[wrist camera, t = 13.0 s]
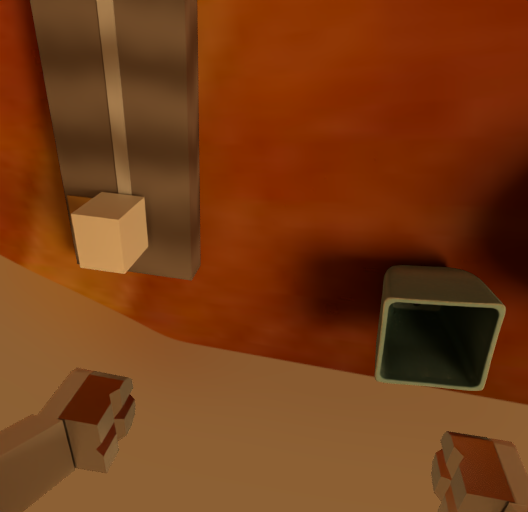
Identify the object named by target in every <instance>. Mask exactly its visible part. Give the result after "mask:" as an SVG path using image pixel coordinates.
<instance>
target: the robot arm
mask: <svg viewBox="0 0 528 512" xmlns="http://www.w3.org/2000/svg"><path fill="white" fill-rule="evenodd" d="M132 389H133V384H132V379H131V378H127V377H122V376H117V375H112V374H107V373H102V372H97V371H91V370H86V369H81V368H76V369H74V370H73V371H72V372H70V374H69V375H68V376H67V377H66V379H65V380H64V381H63V383H62V384H61V385H60V387H59V388H58V389H57V390H56V392H55V393H54V394H53V395H52V397H51V398H50V399H49V401H48V402H47V403H46V405H45V406H44V407H43V408H42V410H41V411H40V412H39V414H38V415H33V414H32V415H30V416H28V417H26V418H24V419H22V420H21V421H19V422H17V423H15V424H13V425H11V426H10V427H8V428H6V429H4V430H2V431H0V512H23V511H24V510H25V509H27V508H28V507H29V506H30V505H32V504H33V503H34V502H36V501H37V500H38V499H39V498H40V497H42V496H43V495H44V494H46V493H47V492H48V491H49V490H51V489H52V488H53V487H54V486H56V485H57V484H58V483H59V482H61V481H62V480H63V479H64V478H66V477H67V476H68V475H69V474H71V473H72V472H73V471H74V470H75V468H78V469H84V470H90V471H96V472H102V473H107V472H108V470H109V468H110V466H111V464H112V462H113V460H114V458H115V457H116V455H117V453H118V451H119V448H118V441H119V440H120V439H122V438H123V437H125V436H126V435H127V433H128V431H129V429H130V427H131V425H132V422H133V418H134V415H135V399H134V398H133V397H132V396H131V395H130V393H131V391H132ZM441 445H442V449H441V450H440V451H438V452H436V453H435V456H434V459H433V462H432V472H431V474H432V484H433V490H434V493H435V494H436V495H437V497H438V498H439V499H440V500H441V505H440V506H439V509H438V512H528V475H527V473H526V470H525V468H524V466H523V463H522V461H521V458H520V456H519V454H518V451H517V449H516V446H515V445H514V444H513V443H512V442H509V441H503V440H497V439H490V438H487V437H480V436H474V435H467V434H460V433H455V432H448V431H447V432H445V433H444V434H443V436H442V439H441Z"/></svg>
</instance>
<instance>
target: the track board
mask: <svg viewBox="0 0 528 512" xmlns="http://www.w3.org/2000/svg"><path fill="white" fill-rule="evenodd" d="M30 3H31V9H32V14H33V20H34V25H35V31H36V37H37V42H38V48H39V53H40V59H41V64H42V70H43V75H44V81H45V87H46V92H47V98H48V103H49V109H50V114H51V120H52V125H53V131H54V137H55V142H56V148H57V153H58V159H59V164H60V170H61V175H62V181H63V187H64V192H65V198H66V203H67V209H68V214H69V220H70V225H71V231H72V237H73V242H74V248H75V253H76V259H77V264H80V263H79V257H78V251H77V246H76V240H75V234H74V229H73V223H72V217H71V213H72V212H74V211H75V210H77V209H78V208H80V207H81V206H82V205H84V204H85V203H87V202H88V201H89V200H91V199H92V198H94V197H95V196H96V195H98V194H99V193H101V192H107V193H116V194H124V195H132V196H140V197H144V200H145V212H146V224H147V236H148V248H147V249H146V250H145V251H144V252H143V253H142V255H141V256H140V257H139V258H138V259H137V260H136V262H135V263H134V264H133V265H132V266H131V267H130V269H129V270H128V271H130V272H137V273H144V274H151V275H158V276H165V277H172V278H179V279H186V280H192V279H193V277H194V275H195V274H196V272H197V270H198V269H199V267H200V191H199V113H198V35H197V0H30Z"/></svg>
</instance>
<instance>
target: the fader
mask: <svg viewBox="0 0 528 512" xmlns="http://www.w3.org/2000/svg"><path fill="white" fill-rule="evenodd" d="M71 217H72V223H73V229H74V234H75V240H76V246H77V251H78V257H79V263H80V267H81V268H88V269H95V270H102V271H108V272H115V273H122V274H125V273H126V272H127V271H128V270H129V269H130V267H131V266H132V265H133V264H134V263H135V262H136V260H137V259H138V258H139V257H140V256H141V255H142V253H143V252H144V251H145V250H146V249H147V248H148V236H147V224H146V212H145V200H144V197H140V196H132V195H124V194H116V193H107V192H101V193H99V194H98V195H96V196H95V197H94V198H92V199H91V200H89V201H88V202H87V203H85V204H84V205H82V206H81V207H80V208H78V209H77V210H75V211H74V212H72V213H71Z"/></svg>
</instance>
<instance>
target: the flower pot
mask: <svg viewBox="0 0 528 512" xmlns="http://www.w3.org/2000/svg"><path fill="white" fill-rule="evenodd" d="M414 303H416V304H417V305H416V304H414ZM505 310H506V308H505V306H504V305H503V304H502V302H501V301H500V300H499V299H498V298H497V297H496V296H495V295H494V293H493V292H492V291H491V290H490V289H489V288H488V287H487V286H486V285H485V284H484V283H483V282H482V281H481V280H480V279H479V278H478V277H476V276H475V275H473V274H471V273H469V272H467V271H464V270H461V269H456V268H449V267H432V266H411V265H396V266H392V267H390V268H389V269H388V270H387V271H386V273H385V276H384V281H383V291H382V300H381V309H380V317H379V325H378V333H377V341H376V359H375V379H376V381H379V382H383V383H393V384H407V385H418V386H430V387H441V388H448V389H459V390H469V391H478V390H482V389H483V388H484V385H485V383H486V379H487V375H488V371H489V367H490V363H491V359H492V356H493V352H494V349H495V345H496V341H497V338H498V334H499V331H500V328H501V325H502V322H503V318H504V316H505Z"/></svg>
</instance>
